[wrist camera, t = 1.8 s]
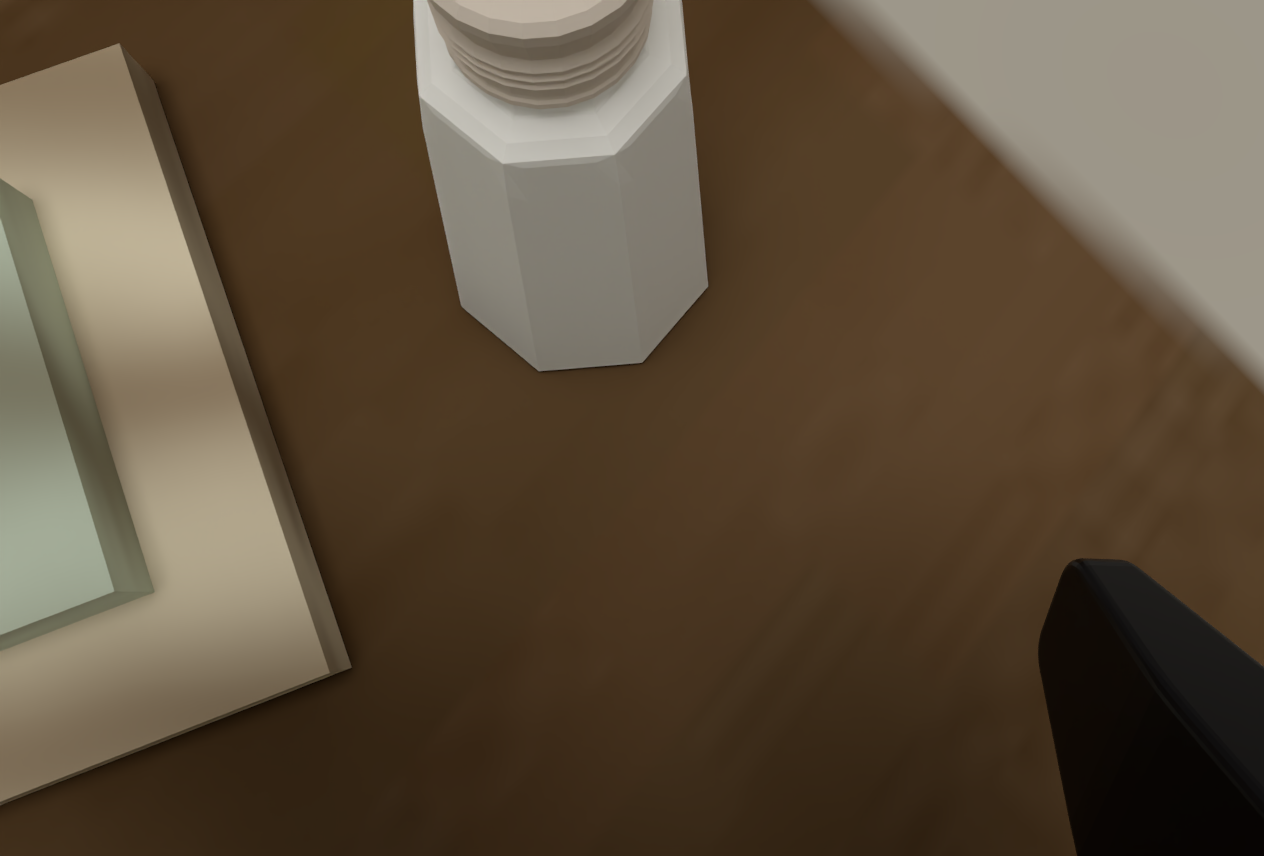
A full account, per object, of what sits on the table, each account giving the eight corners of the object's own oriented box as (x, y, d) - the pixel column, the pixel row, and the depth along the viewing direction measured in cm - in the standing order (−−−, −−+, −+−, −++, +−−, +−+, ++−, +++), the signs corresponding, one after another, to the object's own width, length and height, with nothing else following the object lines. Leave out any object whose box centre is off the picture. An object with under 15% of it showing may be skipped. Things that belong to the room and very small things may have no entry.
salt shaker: (405, 196, 22) (182, -201, 11) (637, 84, 22) (642, -405, 12) (521, 425, 21) (404, 239, 10) (760, 304, 22) (889, 3, 11)
